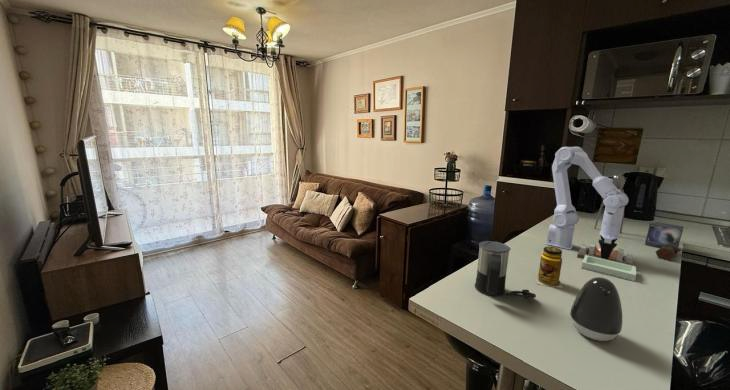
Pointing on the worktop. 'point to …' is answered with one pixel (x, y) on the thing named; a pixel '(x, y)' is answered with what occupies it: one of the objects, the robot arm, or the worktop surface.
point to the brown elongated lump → (667, 252)
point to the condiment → (550, 267)
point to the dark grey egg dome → (598, 310)
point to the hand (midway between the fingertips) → (605, 255)
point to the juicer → (618, 182)
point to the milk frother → (495, 270)
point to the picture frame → (663, 234)
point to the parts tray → (609, 267)
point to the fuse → (614, 255)
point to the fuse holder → (584, 250)
